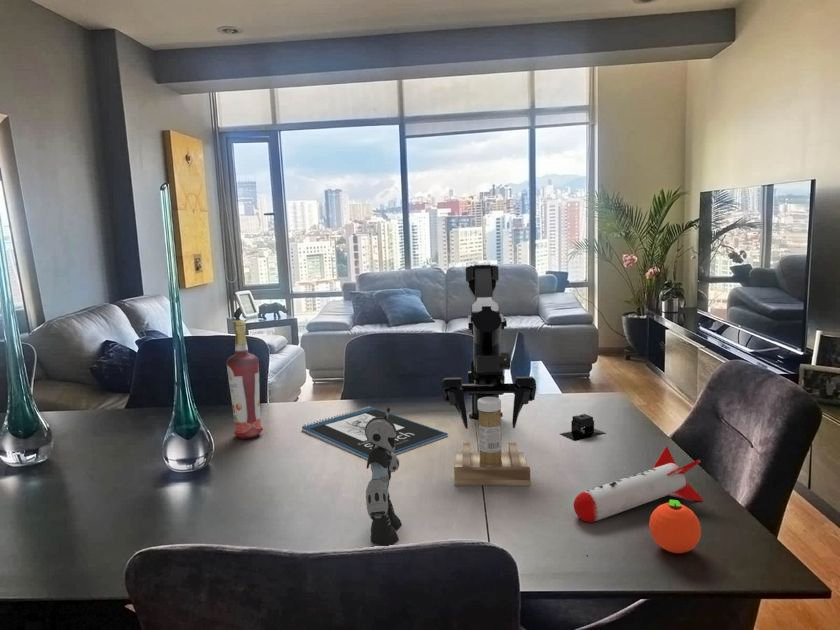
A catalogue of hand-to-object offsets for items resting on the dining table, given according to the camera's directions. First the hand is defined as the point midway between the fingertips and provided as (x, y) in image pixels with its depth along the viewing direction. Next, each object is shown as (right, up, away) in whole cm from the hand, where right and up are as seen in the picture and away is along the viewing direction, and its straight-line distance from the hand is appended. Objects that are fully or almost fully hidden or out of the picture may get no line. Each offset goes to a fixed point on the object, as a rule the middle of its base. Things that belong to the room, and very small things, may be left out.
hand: (490, 427), depth 114 cm
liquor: (-55, -7, +27) cm, 62 cm away
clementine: (+24, -12, -28) cm, 39 cm away
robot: (-19, -13, -21) cm, 31 cm away
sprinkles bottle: (0, -8, +2) cm, 8 cm away
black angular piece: (+24, -6, +20) cm, 32 cm away
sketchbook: (-25, -7, +26) cm, 37 cm away
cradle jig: (0, -9, +2) cm, 9 cm away
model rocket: (+22, -11, -15) cm, 29 cm away
